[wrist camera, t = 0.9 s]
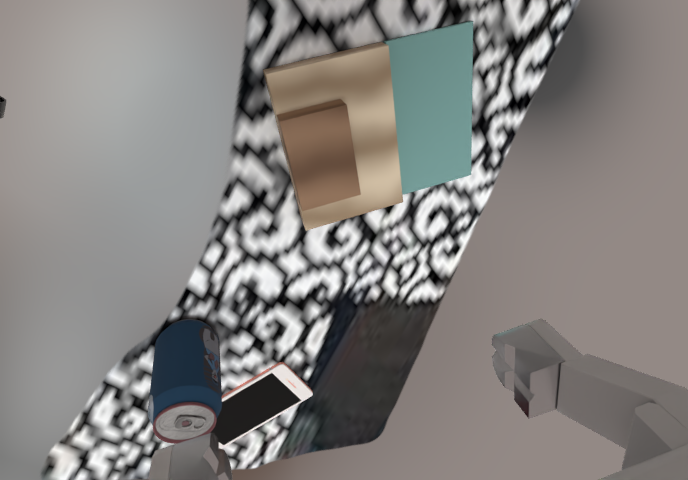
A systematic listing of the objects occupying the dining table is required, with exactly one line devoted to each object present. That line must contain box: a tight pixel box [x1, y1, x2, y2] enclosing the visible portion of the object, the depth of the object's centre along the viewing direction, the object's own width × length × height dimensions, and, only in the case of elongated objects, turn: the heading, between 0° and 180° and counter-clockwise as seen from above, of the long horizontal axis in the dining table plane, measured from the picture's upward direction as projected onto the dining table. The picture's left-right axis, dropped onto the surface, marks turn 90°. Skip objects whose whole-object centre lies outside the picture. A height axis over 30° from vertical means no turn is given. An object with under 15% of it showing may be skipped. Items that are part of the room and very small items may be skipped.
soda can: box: [148, 319, 222, 444], centre depth 46 cm, size 7×7×12 cm
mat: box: [384, 21, 473, 195], centre depth 44 cm, size 16×9×1 cm, turn 9°
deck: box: [263, 42, 403, 230], centre depth 42 cm, size 16×11×2 cm
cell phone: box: [210, 362, 313, 449], centre depth 60 cm, size 9×18×1 cm, turn 117°
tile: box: [276, 99, 361, 211], centre depth 40 cm, size 9×6×2 cm, turn 9°
